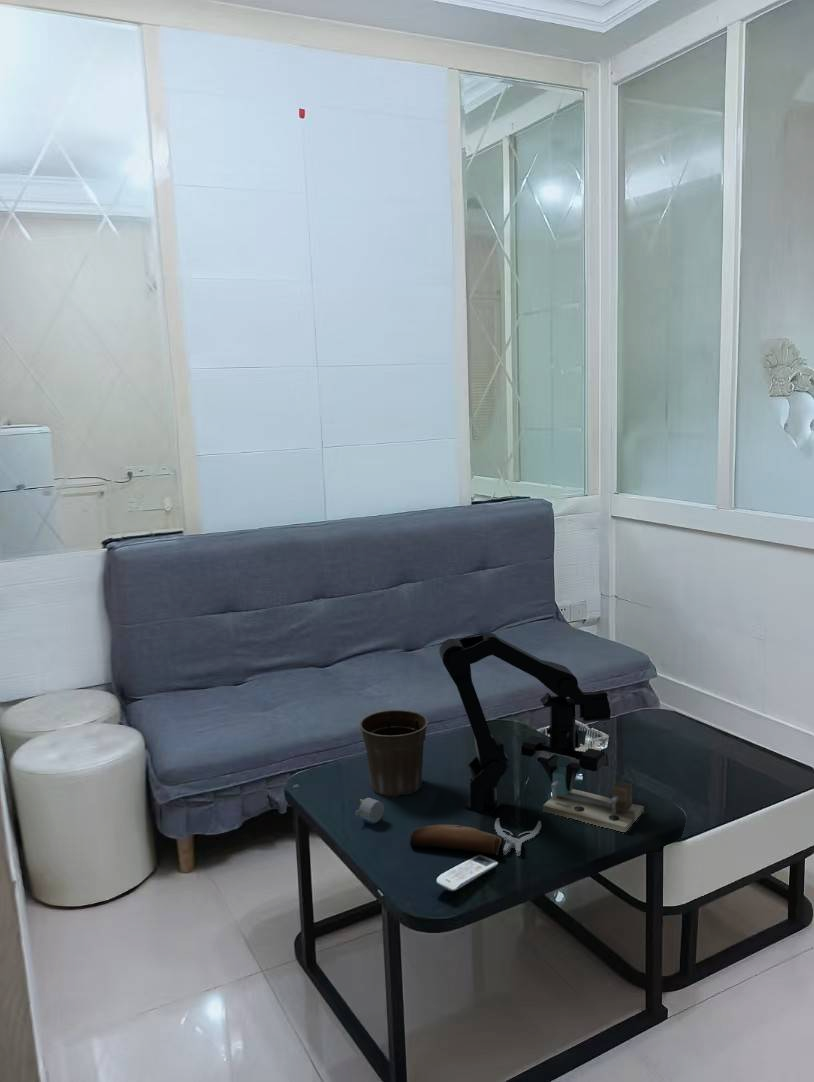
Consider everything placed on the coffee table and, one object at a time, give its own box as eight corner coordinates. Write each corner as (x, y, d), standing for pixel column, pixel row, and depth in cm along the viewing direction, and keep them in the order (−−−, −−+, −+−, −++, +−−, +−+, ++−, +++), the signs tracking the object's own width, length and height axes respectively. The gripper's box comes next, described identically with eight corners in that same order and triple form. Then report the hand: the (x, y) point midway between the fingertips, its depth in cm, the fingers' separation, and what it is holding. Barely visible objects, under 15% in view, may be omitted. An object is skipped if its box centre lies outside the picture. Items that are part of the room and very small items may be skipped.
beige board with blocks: (625, 833, 180) (625, 802, 179) (542, 811, 191) (542, 781, 189) (643, 812, 189) (644, 782, 187) (564, 792, 199) (564, 764, 198)
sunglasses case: (503, 835, 179) (500, 817, 175) (498, 867, 174) (495, 849, 170) (419, 827, 184) (414, 809, 180) (413, 857, 179) (407, 840, 175)
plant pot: (415, 806, 195) (413, 738, 193) (350, 796, 201) (348, 730, 199) (439, 776, 210) (437, 713, 208) (378, 768, 216) (376, 707, 214)
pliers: (541, 817, 185) (536, 852, 171) (541, 824, 186) (536, 860, 171) (496, 814, 188) (487, 848, 173) (496, 820, 188) (487, 855, 173)
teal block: (559, 801, 190) (559, 780, 189) (546, 798, 192) (546, 777, 191) (572, 789, 196) (572, 768, 195) (560, 786, 197) (560, 766, 197)
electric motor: (372, 811, 193) (371, 790, 192) (387, 817, 190) (387, 796, 189) (350, 823, 188) (349, 801, 187) (366, 829, 185) (365, 807, 184)
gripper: (615, 719, 194) (615, 784, 196) (540, 704, 204) (541, 767, 207) (596, 735, 185) (596, 803, 187) (518, 719, 195) (519, 784, 198)
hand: (562, 788), depth 195 cm, fingers closed on teal block, 3 cm apart
